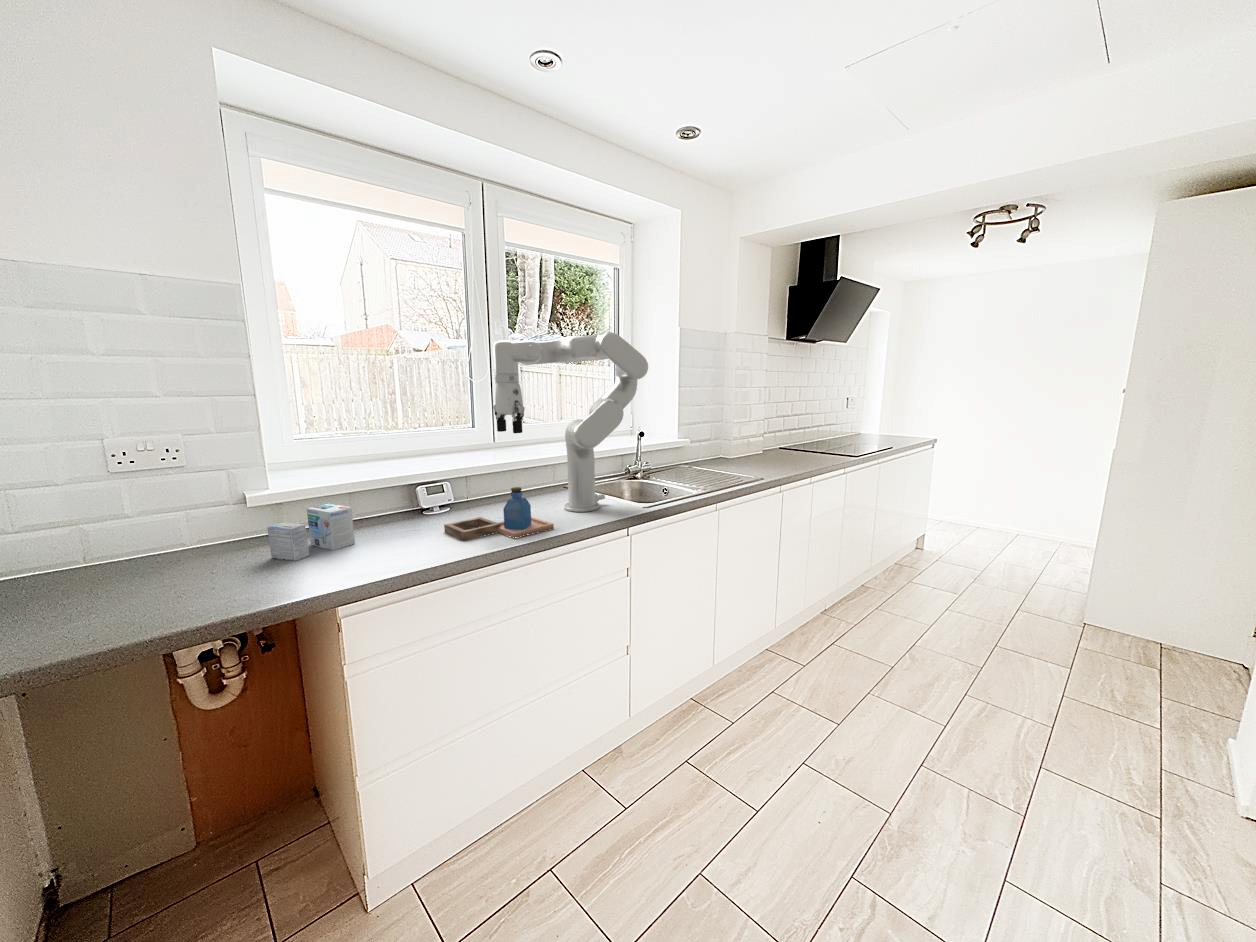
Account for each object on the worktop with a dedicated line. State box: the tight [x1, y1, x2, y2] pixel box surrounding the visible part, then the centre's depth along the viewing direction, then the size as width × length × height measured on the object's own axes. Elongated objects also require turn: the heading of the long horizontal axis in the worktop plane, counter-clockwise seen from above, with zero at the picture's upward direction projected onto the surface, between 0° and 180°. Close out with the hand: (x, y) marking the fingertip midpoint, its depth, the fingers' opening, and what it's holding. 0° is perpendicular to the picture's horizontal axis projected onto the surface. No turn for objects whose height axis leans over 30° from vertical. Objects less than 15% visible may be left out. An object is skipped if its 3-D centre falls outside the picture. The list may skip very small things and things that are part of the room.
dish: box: [497, 516, 555, 538], centre depth 154 cm, size 14×14×2 cm
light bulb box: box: [306, 503, 356, 551], centre depth 140 cm, size 11×7×11 cm, turn 62°
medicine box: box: [267, 522, 310, 562], centre depth 130 cm, size 8×4×9 cm, turn 74°
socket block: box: [443, 516, 501, 542], centre depth 151 cm, size 12×12×2 cm
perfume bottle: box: [503, 486, 532, 530], centre depth 153 cm, size 6×6×12 cm
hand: (509, 432), depth 167 cm, fingers open, 9 cm apart
